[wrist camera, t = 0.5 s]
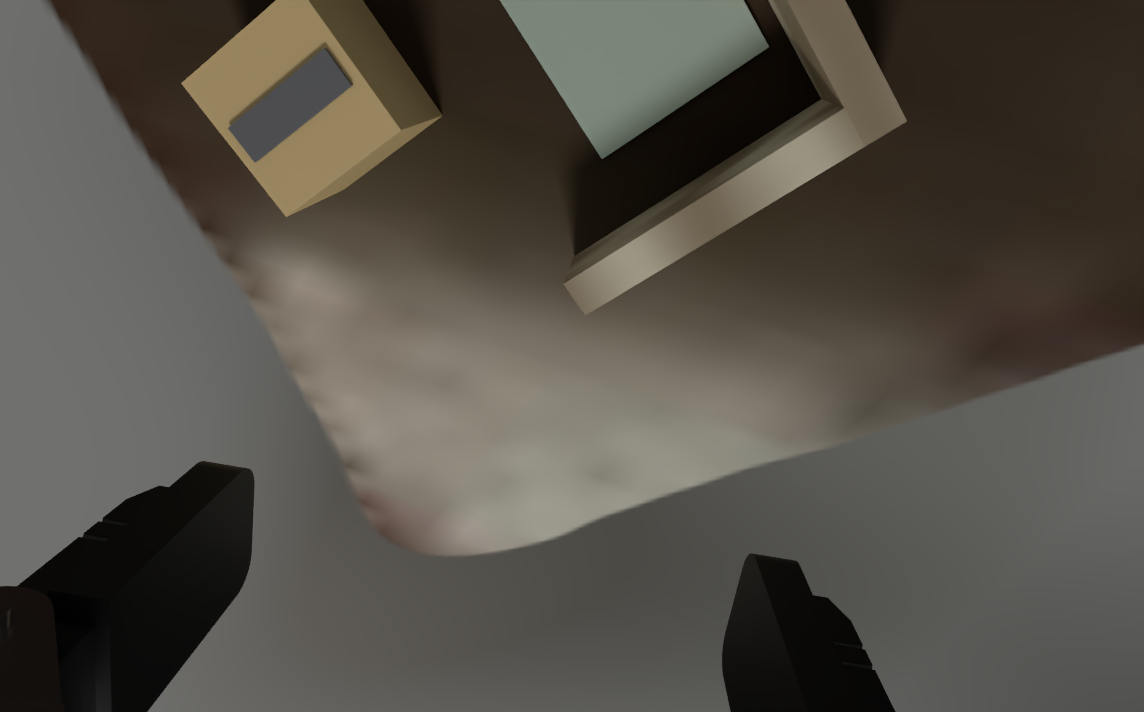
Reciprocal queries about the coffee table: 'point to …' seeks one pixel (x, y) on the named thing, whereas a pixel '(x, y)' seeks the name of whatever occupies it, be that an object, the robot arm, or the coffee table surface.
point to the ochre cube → (311, 98)
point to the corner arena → (755, 157)
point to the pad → (634, 56)
